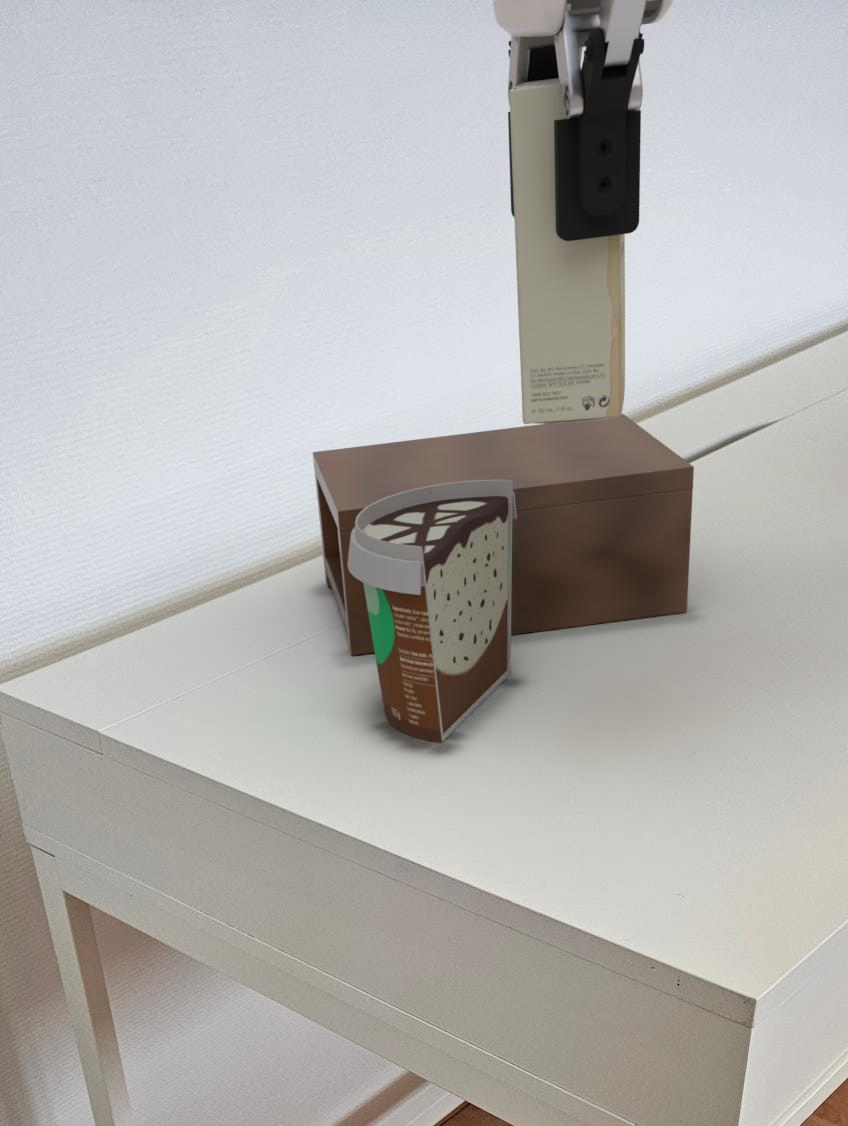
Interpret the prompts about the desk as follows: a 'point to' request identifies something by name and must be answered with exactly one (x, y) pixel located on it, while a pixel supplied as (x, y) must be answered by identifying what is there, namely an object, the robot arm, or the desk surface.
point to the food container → (437, 599)
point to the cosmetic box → (561, 282)
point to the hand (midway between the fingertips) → (571, 222)
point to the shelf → (536, 517)
